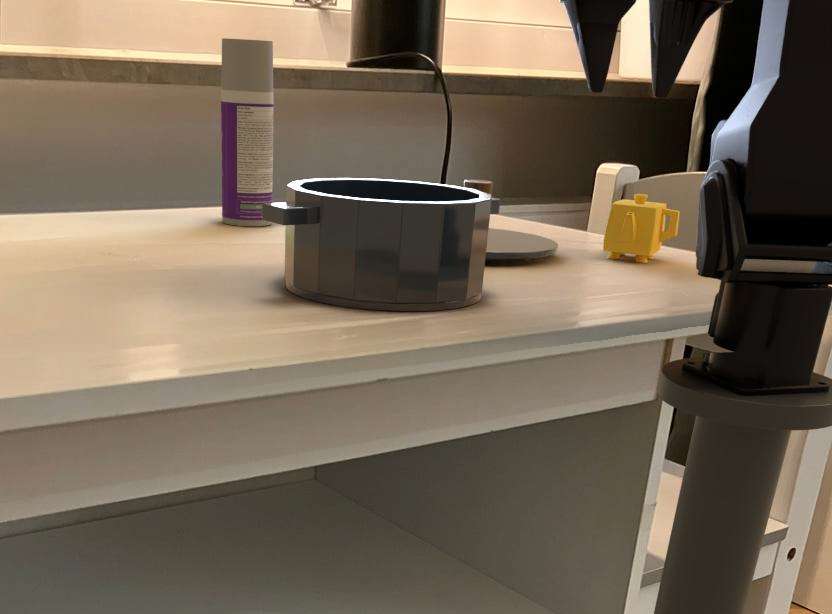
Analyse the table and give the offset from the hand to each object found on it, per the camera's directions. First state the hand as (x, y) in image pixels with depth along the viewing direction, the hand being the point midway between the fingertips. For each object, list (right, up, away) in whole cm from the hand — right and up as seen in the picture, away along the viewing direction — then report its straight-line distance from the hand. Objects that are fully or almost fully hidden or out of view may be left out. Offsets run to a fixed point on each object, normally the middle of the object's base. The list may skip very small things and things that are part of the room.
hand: (626, 95), depth 85 cm
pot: (-20, -20, -12) cm, 31 cm away
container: (-32, -5, +14) cm, 35 cm away
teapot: (+3, -11, +6) cm, 13 cm away
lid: (-12, -10, +5) cm, 17 cm away
